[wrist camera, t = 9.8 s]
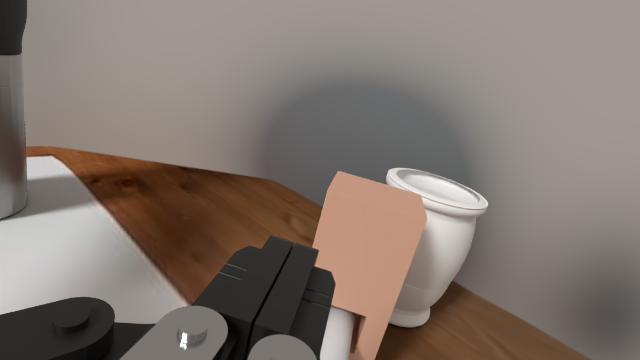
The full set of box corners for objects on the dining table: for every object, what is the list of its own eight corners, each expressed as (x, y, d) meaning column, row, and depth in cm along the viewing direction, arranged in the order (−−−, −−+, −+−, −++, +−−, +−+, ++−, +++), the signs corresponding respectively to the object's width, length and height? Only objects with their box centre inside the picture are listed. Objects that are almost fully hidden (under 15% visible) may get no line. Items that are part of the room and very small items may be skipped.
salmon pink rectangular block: (366, 382, 27) (427, 218, 23) (284, 353, 28) (328, 189, 23) (369, 337, 32) (420, 194, 27) (299, 313, 33) (338, 170, 28)
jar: (427, 354, 34) (487, 218, 29) (335, 303, 38) (374, 176, 33) (443, 301, 43) (490, 192, 38) (368, 264, 47) (402, 161, 42)
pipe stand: (310, 617, 16) (353, 518, 14) (191, 565, 17) (213, 461, 14) (354, 318, 36) (374, 257, 34) (299, 300, 37) (315, 239, 34)
